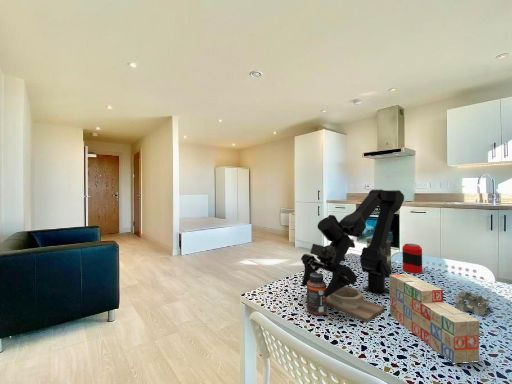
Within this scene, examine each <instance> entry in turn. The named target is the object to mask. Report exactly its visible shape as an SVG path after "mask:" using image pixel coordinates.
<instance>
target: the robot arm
mask: <svg viewBox="0 0 512 384" xmlns="http://www.w3.org/2000/svg"><path fill="white" fill-rule="evenodd" d="M404 200H405V194H404V193H402V191H400V190H399V189H397V190H396V189H395V190H394V189H393V190H384V189H381V188H380V189H371V190H370V191H369V192H368V195H366V197H365V198H364V199H363V201H362V202H361V203H360V204H359V205H358V207H356V209H355V210H354V211H352V213H349V214H346V215H345V216H344V217H343V218H342V219H340V220H339V221H338V219H337V217H336V216H335V215H334V214H329V215H328V216H327V217H324V218H323V219H321V220H319V222H318V223H317V229H318V231H319V232H320V233H321V234H322V235H323V236H324V238H325V239H326V240H327V241H328V242H330V243H329V244H327V245H325V246H323V245H320V244H316V243H312V245H311V249H310V254H308V253H303V254H302V256H301V258H300V260H301V261H302V265H303V266H304V272H303V278H302V282H301V286H302V287H307V282H308V281H309V280H310V274H311V273H318V272H317V271H319V270H320V269H322V270H324V271H326V272H329V273H332V274H331V275H332V276H331V280H330V282H329V283H328V285H327V286H326V290H325V293H324V296H325V297H328V296H329V295H331V294H332V293H334V292H335V291H337V290H339V289H341V288H343V287H345V286H349V287H350V285H352V286H354V285H355V284H356V282H357V281H358V279H357V277H358V276H357V275H356V274H355V272H354V271H353V270H352V268H351V267H350V266H347V265H345V264H341V263H342V262H344V263H345V261H346V257H345V256H346V254H347V253H348V251H349V249H350V248H353V249H354V248H355V247H356V244H355V242H354V239H351V238H350V237H354V238H359V237H361V236H362V235H363V233H364V232H365V230H366V228H367V221H368V219H369V218H370V216H371V215H372V214H373V213H374V212H375V210H376V209H377V208H379V212H378V215H377V219H376V223H375V226H374V230H373V233H372V240H371V243H370V245H369V246H368V247H367V246H366V247H365V246H364V247H362V249H361V254H360V256H359V258H360V259H359V263H360V267H361V271H362V272H365V273H367V286H365V287H364V288H363V289H364V290H365V291H369V292H372V293H375V294H378V295H382V296H383V294H385V293H387V292H390V288H388V287H386V278H387V279H388V278H389V279H390V277H389V275H392V271H393V270H392V267H391V268H390V267H389V266H388V264H387V256H386V253H385V245H386V242H387V240H388V236H389V235H390V230H391V226H392V223H393V219H394V215H395V213H397V212H398V211H399V210H400V209H401V207H402V205H403V203H404ZM314 255H315V256H316V257H315V256H314ZM316 258H317V259H316ZM318 260H319V261H318Z"/></svg>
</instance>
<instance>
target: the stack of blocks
mask: <svg viewBox="0 0 512 384" xmlns="http://www.w3.org/2000/svg"><path fill="white" fill-rule="evenodd" d="M389 295H390V296H389V303H390V304H389V305H390V306H389V310H390V311H389V314H390V316H391V317H393V318H394V319H395V320H396V321H397V322H399V324H401V325H402V326H404V327H405V328H406V329H407V330H409V332H412V334H414V335H415V336H417V337H418V338H419V339H420V340H422V341H423V342H424V343H426V344H427V345H428V346H429V347H431V348H432V349H433V350H434V351H435V352H437V353H438V354H439V353H440V354H439V355H441V356H442V357H443V356H444V357H446V358H447V359H449V360H451V361H452V362H453V363H461V362H462V363H463V362H472V361H473V362H474V361H479V362H480V320H479V319H477V318H475V317H474V316H472V315H470V314H468V313H466V312H465V311H460V310H459V309H458V308H455V307H454V306H453V305H451V304H448V303H447V302H444V291H443V289H442V288H440V287H439V286H435V285H433V284H432V283H429V282H427V281H426V280H422V279H420V278H418V277H416V276H415V275H412V274H411V273H403V274H401V273H400V274H391V275H389ZM444 357H443V358H444ZM446 358H445V359H446ZM447 359H446V360H447Z"/></svg>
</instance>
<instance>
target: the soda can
mask: <svg viewBox="0 0 512 384" xmlns="http://www.w3.org/2000/svg"><path fill="white" fill-rule="evenodd" d="M401 249H402V251H401V253H402V270H403V272H405V273H408V274H418V273H419V274H422V273H423V249H422V247H421V245H420V244H416V243H405V244H404V245H403V246H402V248H401Z"/></svg>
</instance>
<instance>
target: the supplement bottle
mask: <svg viewBox="0 0 512 384" xmlns="http://www.w3.org/2000/svg"><path fill="white" fill-rule="evenodd" d="M326 288H327V283H326V282H325V280H324V274H322V273H320V272H317V273H311V274H310V280H309V281H308V282H307V285H306V310H307V312H308V313H310V314H311V315H314V316H323V315H325V314H326V313H327V310H328V309H327V307H328V306H327V300H326V297H325V296H324V293H325V290H326Z"/></svg>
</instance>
